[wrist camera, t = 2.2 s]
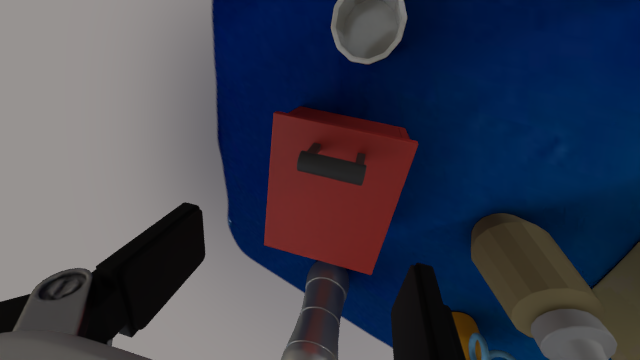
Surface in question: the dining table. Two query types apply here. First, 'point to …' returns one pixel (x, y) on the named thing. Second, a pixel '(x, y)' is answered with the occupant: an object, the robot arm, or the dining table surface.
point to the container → (368, 28)
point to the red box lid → (333, 190)
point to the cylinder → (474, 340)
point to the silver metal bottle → (319, 314)
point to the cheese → (623, 305)
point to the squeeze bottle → (540, 289)
